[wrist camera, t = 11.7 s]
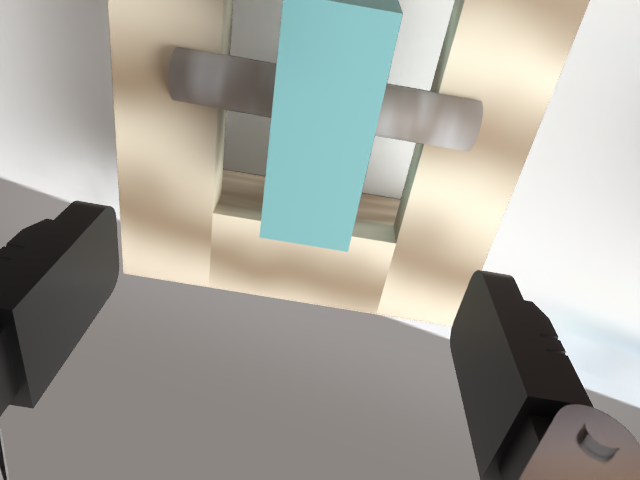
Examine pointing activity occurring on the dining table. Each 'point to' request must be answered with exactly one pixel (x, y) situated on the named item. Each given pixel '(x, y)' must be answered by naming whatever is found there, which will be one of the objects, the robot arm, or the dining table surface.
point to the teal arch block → (325, 116)
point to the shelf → (373, 211)
